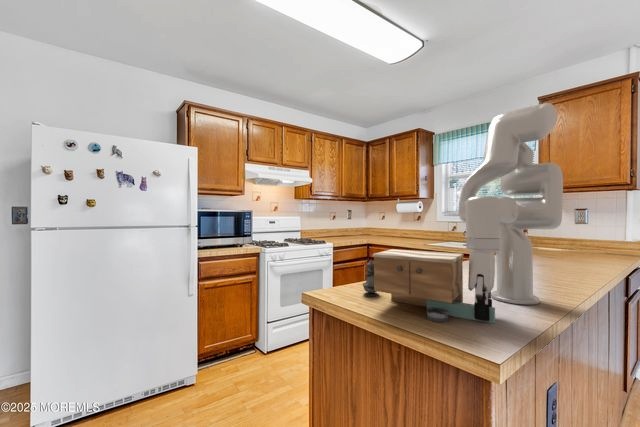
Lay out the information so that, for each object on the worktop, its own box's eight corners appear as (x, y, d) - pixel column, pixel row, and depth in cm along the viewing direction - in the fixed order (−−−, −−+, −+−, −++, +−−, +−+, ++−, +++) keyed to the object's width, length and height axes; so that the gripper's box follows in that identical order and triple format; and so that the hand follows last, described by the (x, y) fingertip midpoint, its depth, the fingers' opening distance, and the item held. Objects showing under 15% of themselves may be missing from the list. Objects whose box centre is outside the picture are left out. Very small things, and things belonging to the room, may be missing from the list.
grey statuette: (362, 297, 95) (362, 260, 95) (362, 292, 101) (362, 257, 101) (380, 297, 94) (380, 260, 94) (380, 293, 100) (379, 258, 100)
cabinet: (393, 298, 93) (392, 249, 93) (464, 310, 81) (463, 253, 81) (371, 311, 81) (371, 254, 81) (452, 327, 69) (451, 260, 69)
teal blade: (429, 310, 83) (429, 297, 83) (495, 321, 73) (495, 307, 73) (426, 312, 81) (426, 299, 81) (494, 324, 71) (494, 310, 71)
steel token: (430, 315, 78) (430, 306, 78) (450, 319, 75) (450, 309, 75) (424, 320, 74) (424, 311, 74) (445, 325, 71) (445, 315, 71)
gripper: (471, 241, 83) (472, 306, 83) (459, 247, 70) (460, 323, 69) (502, 243, 79) (503, 310, 79) (496, 248, 65) (497, 330, 65)
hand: (483, 316), depth 74 cm, fingers open, 4 cm apart
